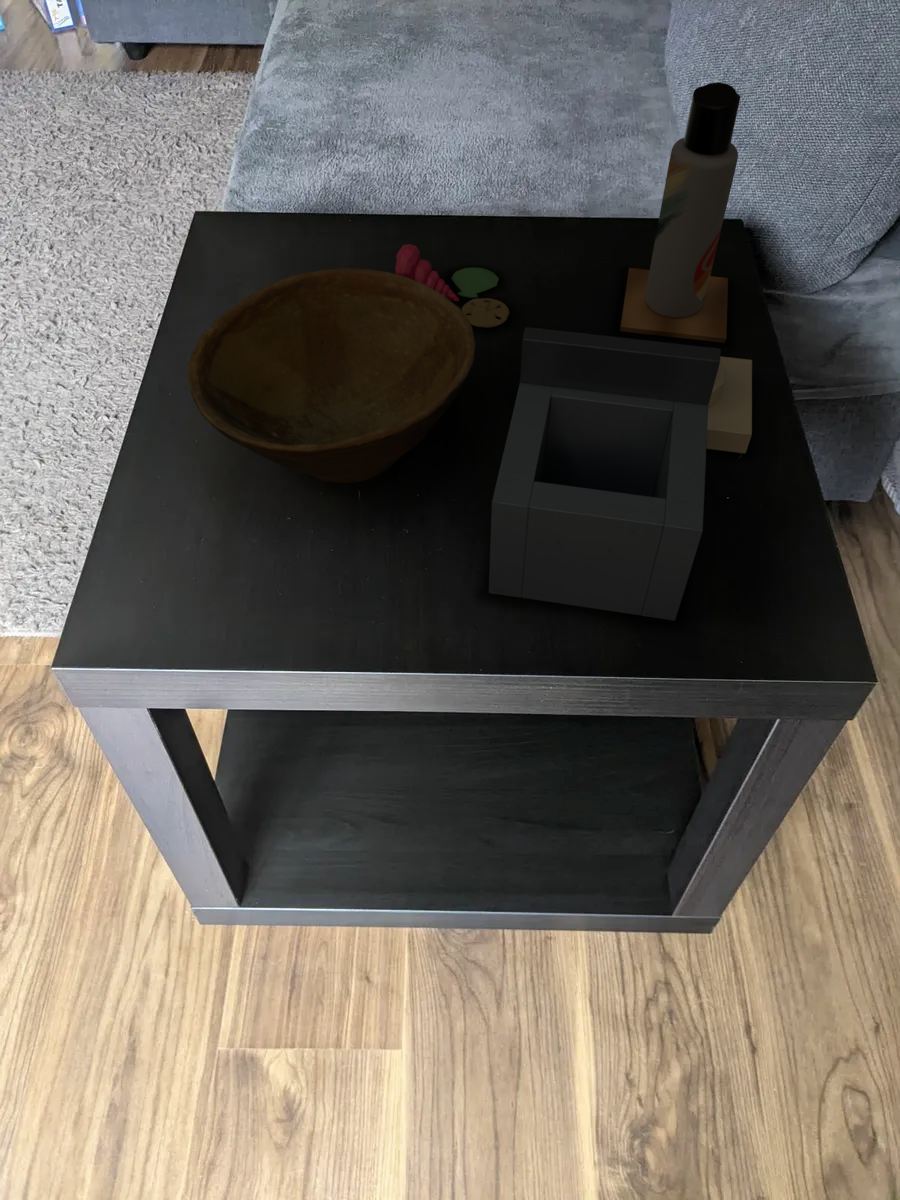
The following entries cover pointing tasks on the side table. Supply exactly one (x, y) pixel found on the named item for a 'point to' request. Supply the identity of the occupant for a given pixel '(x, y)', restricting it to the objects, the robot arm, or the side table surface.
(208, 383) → the bowl
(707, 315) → the coaster
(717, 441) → the control box
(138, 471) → the side table surface
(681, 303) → the spray bottle
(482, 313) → the toy pieces
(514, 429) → the dark grey square holder
